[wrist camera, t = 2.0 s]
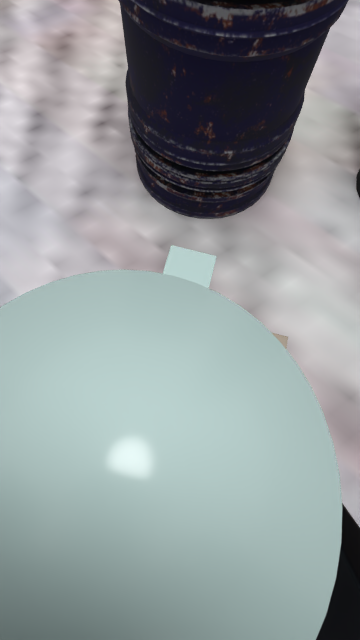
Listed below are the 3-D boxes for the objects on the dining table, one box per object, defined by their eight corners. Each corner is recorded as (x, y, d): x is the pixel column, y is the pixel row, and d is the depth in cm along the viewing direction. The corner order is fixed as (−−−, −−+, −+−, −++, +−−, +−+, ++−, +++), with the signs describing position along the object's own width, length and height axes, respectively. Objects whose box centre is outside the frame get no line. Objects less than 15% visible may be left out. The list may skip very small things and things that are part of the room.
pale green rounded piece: (196, 499, 15) (311, 889, 3) (90, 469, 15) (-240, 698, 3) (228, 352, 17) (370, 204, 5) (135, 328, 18) (49, 129, 5)
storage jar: (260, 236, 20) (495, -226, 5) (116, 201, 20) (-16, -306, 6) (284, 123, 23) (478, -373, 8) (157, 95, 23) (134, -419, 9)
